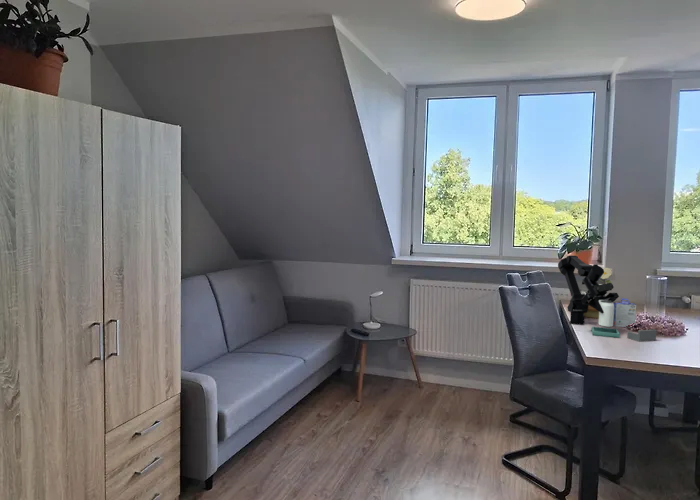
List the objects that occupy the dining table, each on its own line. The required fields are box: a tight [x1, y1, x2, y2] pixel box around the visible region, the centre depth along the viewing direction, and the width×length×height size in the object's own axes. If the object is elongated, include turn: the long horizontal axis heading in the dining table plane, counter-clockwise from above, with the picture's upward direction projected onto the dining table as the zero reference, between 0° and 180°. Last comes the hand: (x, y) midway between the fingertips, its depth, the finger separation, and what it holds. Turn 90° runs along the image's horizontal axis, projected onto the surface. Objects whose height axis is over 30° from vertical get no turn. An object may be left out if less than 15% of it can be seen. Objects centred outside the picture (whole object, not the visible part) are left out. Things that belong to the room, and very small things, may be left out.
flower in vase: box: [598, 267, 612, 303], centre depth 339 cm, size 13×11×25 cm
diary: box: [584, 306, 599, 320], centre depth 310 cm, size 23×19×6 cm
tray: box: [591, 326, 620, 339], centre depth 263 cm, size 12×12×2 cm
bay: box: [626, 329, 657, 343], centre depth 255 cm, size 7×10×5 cm
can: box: [598, 300, 614, 328], centre depth 263 cm, size 6×6×12 cm
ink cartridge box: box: [613, 297, 637, 328], centre depth 282 cm, size 10×6×14 cm, turn 78°
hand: (608, 312), depth 261 cm, fingers closed on can, 6 cm apart
